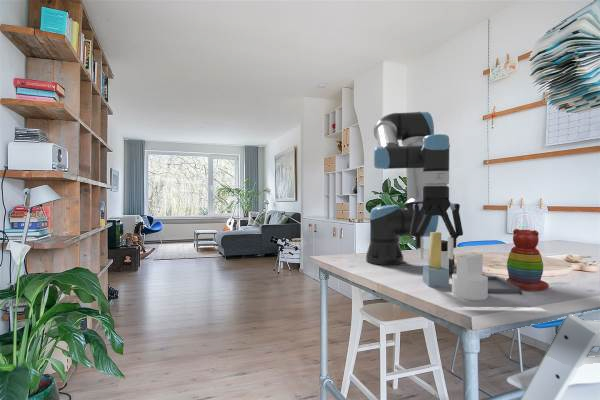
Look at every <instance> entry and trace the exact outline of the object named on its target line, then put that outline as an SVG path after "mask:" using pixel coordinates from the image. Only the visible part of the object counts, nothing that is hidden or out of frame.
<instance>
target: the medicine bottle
mask: <svg viewBox="0 0 600 400" xmlns="http://www.w3.org/2000/svg"><path fill="white" fill-rule="evenodd" d="M427 256H428V258H427V259H428V262H427V263H428V264H427V265H430V254H428V255H427ZM441 265H443V266H444V267H446V268H447V269H449V276H452V274H454V273H455V254H454V253H453V259H449V258H448V240H445V239H441Z"/></svg>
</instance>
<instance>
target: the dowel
mask: <svg viewBox="0 0 600 400" xmlns="http://www.w3.org/2000/svg"><path fill="white" fill-rule="evenodd" d="M429 239H430V241H429V242H430V244H429V245H430V246H429V251H430V252H429V255H430V268H431V269H441V240H442V232H439V231H436V232H430V237H429Z"/></svg>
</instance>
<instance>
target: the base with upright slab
mask: <svg viewBox="0 0 600 400" xmlns="http://www.w3.org/2000/svg"><path fill="white" fill-rule="evenodd" d="M483 257H484V255H483V253H479V252H469V253H465V254H461V255H456V272H453V273H452V274H451V294H452V295H453V296H455V297H458V298H460V299H464V300H471V301H481V300H486V299H488V295H489V293H488V278H487V277H486V276H487V275H483V268H484V266H483V261H484V260H483Z"/></svg>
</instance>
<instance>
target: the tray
mask: <svg viewBox="0 0 600 400" xmlns="http://www.w3.org/2000/svg"><path fill="white" fill-rule="evenodd" d="M485 276H486V277H487V278H488V294H519V295H520V296H522V295H523V290H522V289H521V288H519V287H517V286H515V285H513V284H511V283H509V282H507V280H506V279H503V278H501V277H500V276H498V275H485Z"/></svg>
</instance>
